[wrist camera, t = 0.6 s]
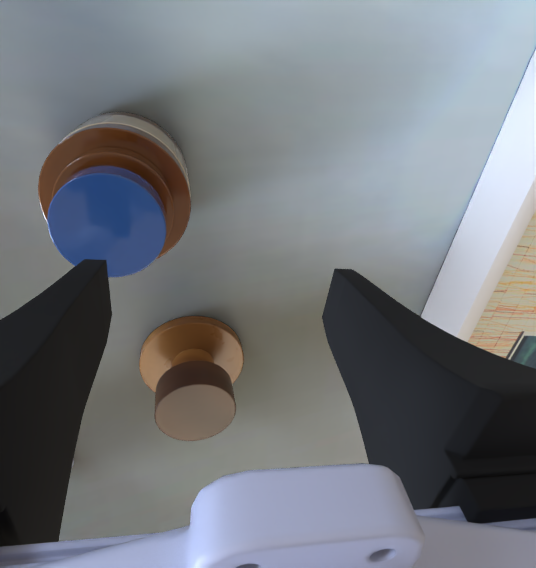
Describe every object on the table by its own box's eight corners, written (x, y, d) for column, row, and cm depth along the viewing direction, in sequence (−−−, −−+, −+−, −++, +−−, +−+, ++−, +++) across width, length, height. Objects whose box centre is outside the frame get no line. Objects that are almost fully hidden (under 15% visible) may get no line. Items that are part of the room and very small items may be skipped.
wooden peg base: (178, 407, 29) (179, 441, 27) (117, 349, 26) (111, 382, 23) (259, 363, 29) (267, 394, 26) (208, 297, 25) (212, 325, 22)
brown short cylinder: (184, 425, 26) (185, 451, 24) (139, 384, 24) (137, 410, 22) (244, 392, 26) (249, 416, 24) (206, 347, 23) (208, 370, 22)
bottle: (117, 249, 22) (96, 325, 16) (33, 153, 19) (-31, 202, 13) (210, 194, 22) (224, 250, 16) (140, 85, 19) (124, 104, 12)
